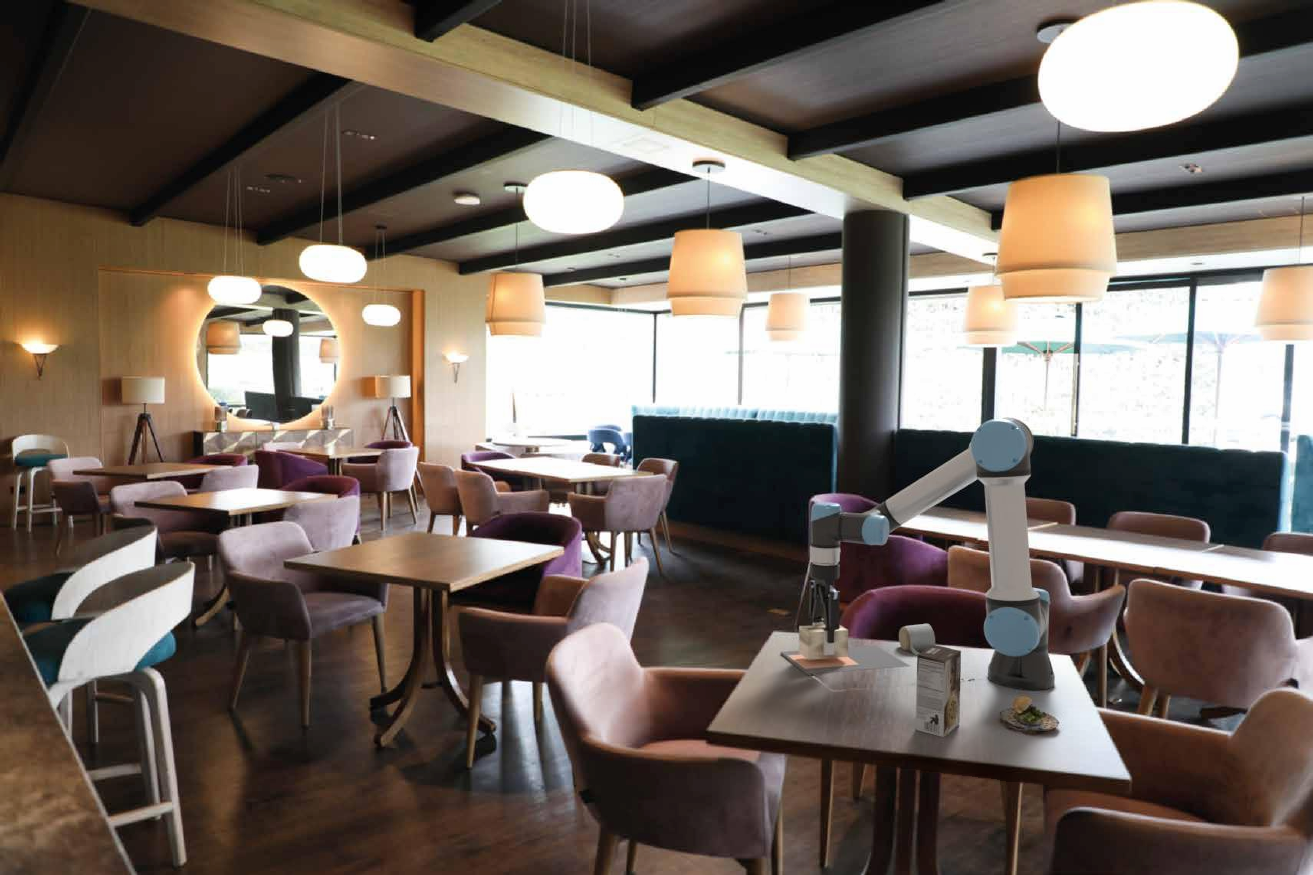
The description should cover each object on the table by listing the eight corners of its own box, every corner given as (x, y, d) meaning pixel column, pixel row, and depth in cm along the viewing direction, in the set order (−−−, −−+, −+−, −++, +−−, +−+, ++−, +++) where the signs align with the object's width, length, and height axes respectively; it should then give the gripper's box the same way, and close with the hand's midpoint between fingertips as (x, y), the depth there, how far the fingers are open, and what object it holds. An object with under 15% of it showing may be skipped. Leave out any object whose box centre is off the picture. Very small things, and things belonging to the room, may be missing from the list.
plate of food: (1039, 741, 173) (1040, 705, 172) (987, 723, 182) (988, 688, 182) (1070, 728, 180) (1072, 693, 179) (1018, 711, 189) (1020, 678, 189)
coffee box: (930, 717, 185) (932, 643, 184) (960, 724, 181) (962, 649, 180) (913, 729, 178) (915, 653, 177) (944, 737, 174) (946, 660, 173)
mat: (910, 668, 218) (910, 665, 218) (808, 675, 211) (808, 673, 211) (875, 647, 235) (875, 644, 235) (780, 654, 228) (780, 651, 228)
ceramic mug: (896, 647, 235) (897, 621, 235) (923, 646, 236) (924, 620, 236) (912, 659, 225) (913, 632, 225) (940, 658, 226) (941, 631, 226)
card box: (808, 659, 217) (808, 631, 217) (798, 652, 223) (799, 625, 222) (847, 656, 220) (848, 629, 219) (837, 649, 226) (837, 623, 225)
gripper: (855, 569, 212) (853, 660, 213) (822, 555, 230) (820, 639, 231) (827, 570, 210) (825, 662, 211) (796, 556, 228) (795, 641, 229)
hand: (823, 650), depth 221 cm, fingers closed on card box, 6 cm apart
